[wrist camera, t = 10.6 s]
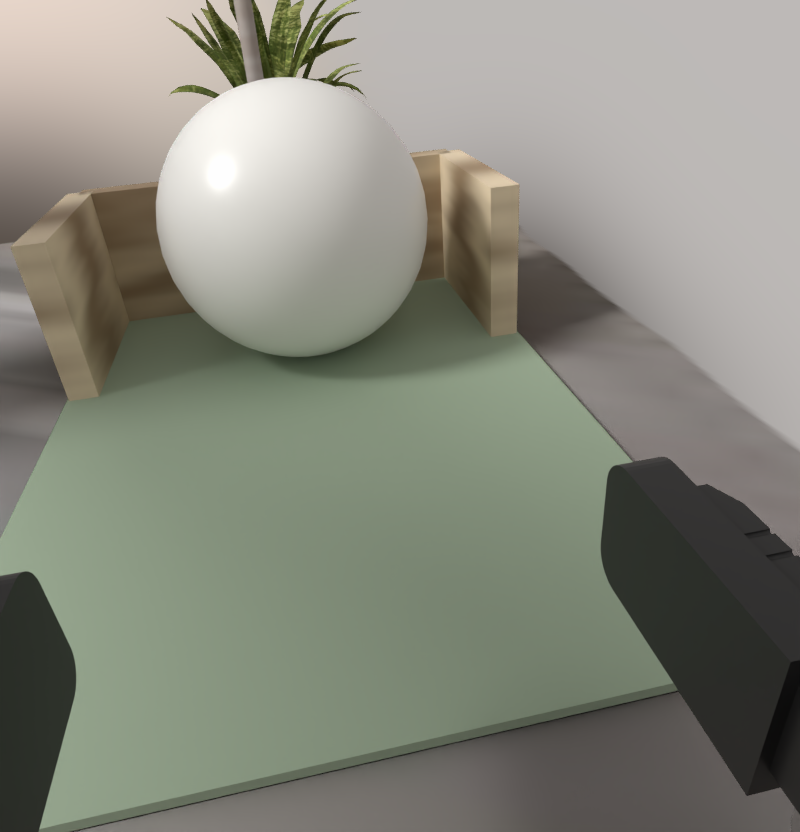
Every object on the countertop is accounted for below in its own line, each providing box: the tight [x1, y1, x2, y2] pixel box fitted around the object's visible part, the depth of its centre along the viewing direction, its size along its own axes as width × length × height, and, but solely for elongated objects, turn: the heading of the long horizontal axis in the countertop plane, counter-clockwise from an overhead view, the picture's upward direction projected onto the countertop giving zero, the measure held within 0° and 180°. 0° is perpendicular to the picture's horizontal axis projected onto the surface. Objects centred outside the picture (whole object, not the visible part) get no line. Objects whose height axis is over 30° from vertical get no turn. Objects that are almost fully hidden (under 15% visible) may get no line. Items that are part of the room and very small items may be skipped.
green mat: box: [0, 277, 678, 832], centre depth 25 cm, size 28×20×1 cm
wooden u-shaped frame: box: [11, 0, 519, 401], centre depth 28 cm, size 11×19×20 cm, turn 101°
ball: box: [156, 77, 428, 357], centre depth 28 cm, size 11×11×11 cm
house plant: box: [169, 0, 363, 98], centre depth 42 cm, size 14×14×16 cm
